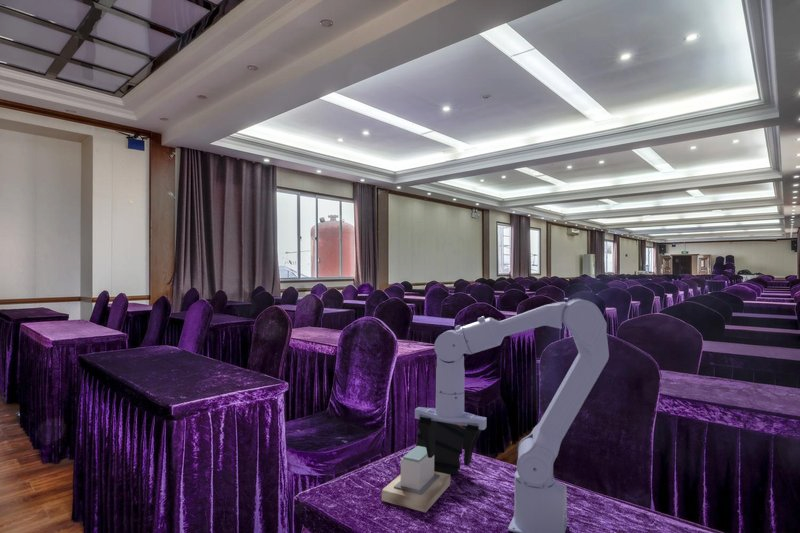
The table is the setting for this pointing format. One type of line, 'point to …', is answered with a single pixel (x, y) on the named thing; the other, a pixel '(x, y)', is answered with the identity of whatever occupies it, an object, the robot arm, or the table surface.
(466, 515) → the table surface
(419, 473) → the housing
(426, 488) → the stand
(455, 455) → the magazine
